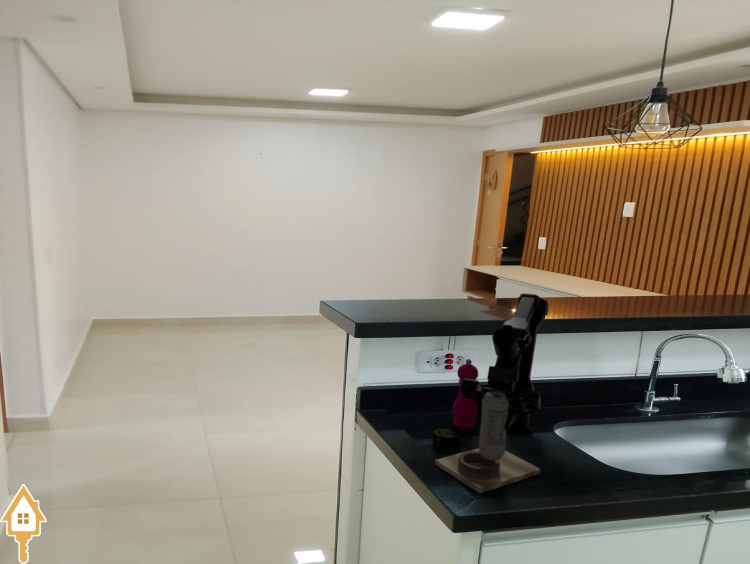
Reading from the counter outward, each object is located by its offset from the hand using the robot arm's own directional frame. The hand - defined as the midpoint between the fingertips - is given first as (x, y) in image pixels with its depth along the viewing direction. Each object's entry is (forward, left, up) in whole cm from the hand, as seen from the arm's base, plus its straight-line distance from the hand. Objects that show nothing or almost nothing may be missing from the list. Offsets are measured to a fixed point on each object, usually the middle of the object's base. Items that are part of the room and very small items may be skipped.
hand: (492, 426), depth 132 cm
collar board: (-4, -4, -13) cm, 14 cm away
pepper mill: (-18, -28, -13) cm, 36 cm away
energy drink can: (-1, -1, -8) cm, 8 cm away
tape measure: (-4, -20, -14) cm, 24 cm away
